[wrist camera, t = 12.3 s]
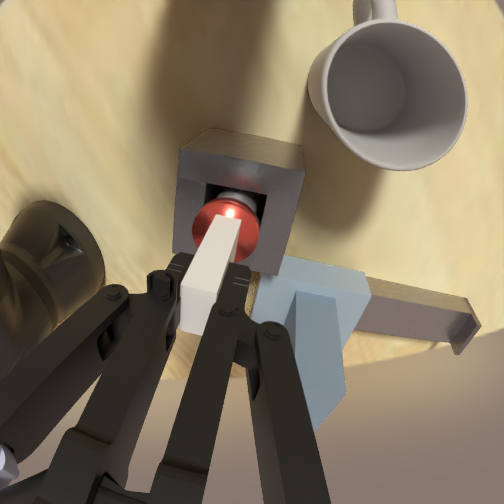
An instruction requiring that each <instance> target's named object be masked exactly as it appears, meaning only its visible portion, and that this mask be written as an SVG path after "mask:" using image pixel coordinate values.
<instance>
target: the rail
mask: <svg viewBox="0 0 504 504" xmlns="http://www.w3.org/2000/svg"><path fill="white" fill-rule="evenodd" d="M260 276H261V273H259V277H258V282H257V286H256V290H255V295H254V300H255V296H256V292H257V288H258V284H259V280H260ZM365 277H366V276H365ZM366 280H367V282H368V285H369V288H370V292H371V295H372V296H371V298H370V300H369V302H368V304H367V306H366V308H365V310H364V312H363V313H362V315H361V317H360V319H359V321H358V323H357V325H356V326H355V328H354V330H360V331H367V332H373V333H380V334H386V335H393V336H400V337H408V338H415V339H423V340H431V341H439V342H448V343H450V344H451V346H452V349H453V351H454V354H455V355H459V354H460V353H461V352H462V351H463V349H464V348H465V347H466V346H467V345H468V343H469V342H470V341H471V339H472V338H473V337H474V335H475V334H476V333H477V331H478V330H479V329H480V327H481V324H480V322H479V320H478V318H477V316H476V314H475V312H474V311H473V309H472V307H471V305H470V303H469V302H468V300H467V298H463V297H458V296H453V295H449V294H444V293H440V292H435V291H430V290H426V289H421V288H417V287H412V286H407V285H403V284H398V283H394V282H389V281H384V280H380V279H375V278H370V277H366ZM254 300H253V304H254ZM252 308H253V306H252Z"/></svg>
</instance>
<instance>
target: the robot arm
mask: <svg viewBox="0 0 504 504" xmlns="http://www.w3.org/2000/svg"><path fill="white" fill-rule="evenodd" d="M241 221H242V220H241V219H236V218H232V217H227V216H222V215H217V214H216V216H215V217H214V219H213V221H212V223H211V225H210V227H209V229H208V231H207V233H206V235H205V237H204V239H203V241H202V243H201V245H200V246H199V248H198V250H197V252H196V254H195V255H193V254H189V253H184V252H180V253H178V254H176V255H175V256H174V257H173V258H172V260H171V262H170V264H169V265H168V267H167V269H166V270H156V271H153V272H151V273H149V274H148V275H147V293H143V294H129V292H128V290H127V289H126V288H125V287H124V286H122V285H119V284H111V285H107V286H105V287H104V288H102V289H101V290H100V288H101V286H102V284H103V280H104V264H103V259H102V256H101V253H100V250H99V248H98V246H97V243H96V242H95V240H94V238H93V236H92V235H91V233H90V232H89V230H88V229H87V228H86V226H85V225H84V224H83V223H82V222H81V221H80V219H79V218H78V217H76V216H75V215H74V214H73V213H72V212H71V211H69V210H68V209H66V208H65V207H63V206H61V205H59V204H57V203H54V202H50V201H37V202H34V203H32V204H31V205H29V206H28V207H26V208H25V209H24V210H22V211H21V212H20V213H19V214H18V215H17V216H16V217H15V219H14V221H13V223H12V225H11V227H10V228H9V230H8V231H7V233H6V234H5V236H4V237H3V239H2V241H1V242H0V504H202V499H203V494H204V490H205V486H206V481H207V477H208V472H209V467H210V463H211V457H212V453H213V449H214V444H215V440H216V435H217V431H218V426H219V422H220V417H221V413H222V408H223V404H224V399H225V394H226V390H227V385H228V381H229V376H230V372H231V367H232V362H235V363H237V364H239V365H241V366H242V367H244V368H246V377H247V385H248V393H249V400H250V408H251V416H252V423H253V431H254V438H255V445H256V452H257V459H258V466H259V473H260V480H261V487H262V493H263V500H264V504H331V501H330V497H329V493H328V488H327V485H326V480H325V476H324V472H323V467H322V463H321V459H320V456H319V451H318V447H317V443H316V439H315V435H314V431H313V427H312V422H311V418H310V414H309V410H308V406H307V402H306V398H305V395H304V391H303V387H302V383H301V379H300V375H299V371H298V367H297V363H296V359H295V355H294V351H293V348H292V344H291V340H290V336H289V333H288V331H287V329H286V328H285V327H284V326H283V325H282V324H280V323H278V322H274V321H265V322H263V323H261V324H259V323H257V322H255V321H253V320H252V319H250V318H249V317H248V316H247V314H246V313H245V310H244V308H245V302H246V297H247V292H248V287H249V283H250V278H251V271H250V268H249V266H245V265H241V264H236V263H234V259H235V254H236V248H237V243H238V237H239V232H240V227H241ZM99 290H100V291H99ZM98 291H99V292H98ZM77 309H78V310H77ZM75 310H77V311H75ZM74 311H75V312H74ZM73 312H74V313H73ZM71 313H73V314H72V315H71V316H70V317H69V318H67V319H66V320H65V321H64V322H63V323H62V324H61V325H60V326H58V327H57V328H56V329H55V330H54V331H53V329H54V328H55V327H56V325H57V324H58V323H59V322H60V321H61V320H63V319H64V318H66V317H67V316H69V315H70V314H71ZM178 325H179V330H181V331H185V332H189V333H193V334H197V335H201V336H202V338H201V341H200V344H199V347H198V350H197V353H196V356H195V359H194V362H193V365H192V368H191V371H190V374H189V378H188V381H187V384H186V387H185V390H184V393H183V396H182V399H181V403H180V406H179V409H178V412H177V415H176V419H175V422H174V425H173V428H172V431H171V435H170V438H169V441H168V445H167V448H166V451H165V454H164V457H163V459H162V461H161V462H160V463H159V466H158V468H157V471H156V474H155V477H154V480H153V484H152V487H151V490H150V493H142V492H132V491H127V490H125V489H124V488H125V485H126V482H127V478H128V467H129V463H130V460H131V457H132V454H133V451H134V448H135V445H136V443H137V440H138V437H139V434H140V432H141V429H142V426H143V423H144V420H145V418H146V415H147V412H148V410H149V407H150V404H151V401H152V399H153V396H154V393H155V390H156V388H157V385H158V383H159V380H160V378H161V375H162V372H163V370H164V367H165V365H166V362H167V359H168V357H169V354H170V352H171V349H172V347H173V344H174V342H175V339H176V329H177V327H178ZM52 331H53V332H52ZM51 332H52V333H51ZM102 372H103V373H102ZM101 373H102V375H101ZM100 375H101V377H100V379H99V381H98V383H97V384H96V386H95V388H94V391H93V393H92V394H91V396H90V398H89V400H88V403H87V405H86V407H85V409H84V411H83V413H82V415H81V417H80V419H79V421H78V423H77V425H76V426H75V427H73V428H69V429H68V430H67V431H66V432H65V434H64V435H63V437H62V439H61V441H60V444H59V446H58V448H57V450H56V453H55V455H54V457H53V459H52V462H51V464H50V466H49V469H46V470H44V471H42V472H40V473H38V474H36V475H33V476H31V477H29V478H27V479H24V480H22V481H20V482H18V483H15V484H13V485H11V486H8V485H9V483H10V482H11V481H12V480H13V479H17V478H18V476H19V470H18V467H17V464H18V463H20V462H22V461H23V460H24V459H26V458H27V457H28V456H29V455H31V454H32V453H33V452H34V450H35V449H36V448H37V447H38V446H39V445H40V444H41V443H42V441H43V440H44V439H45V438H46V437H47V436H48V434H49V433H50V432H51V431H52V429H53V428H54V427H55V426H56V425H57V424H58V423H59V421H60V420H61V419H62V418H63V417H64V416H65V414H66V413H67V412H68V411H69V410H70V409H71V407H72V406H73V405H74V404H75V403H76V402H77V401H78V399H79V398H80V397H81V396H82V395H83V394H84V393H85V392H86V390H87V389H88V388H89V387H90V386H91V385H92V384H93V382H94V381H95V380H96V379H97V378H98V377H99V376H100Z"/></svg>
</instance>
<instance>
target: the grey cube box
mask: <svg viewBox="0 0 504 504" xmlns="http://www.w3.org/2000/svg"><path fill="white" fill-rule="evenodd" d="M305 175H306V170H305V164H304V157H303V151H302V146H301V145H296V144H292V143H288V142H283V141H279V140H274V139H269V138H264V137H259V136H254V135H249V134H244V133H238V132H233V131H227V130H221V129H215V128H209V129H208V130H206V131H205V132H203V133H202V134H200V135H199V136H197V137H196V138H194V139H193V140H191V141H190V142H188V143H187V144H185V145H184V146H183V147H181V148H180V153H179V163H178V173H177V185H176V197H175V211H174V228H173V247H172V253H174V254H178V253H180V252H184V253H189V254H193V255H195V254H196V252H197V250H198V247H197V246H196V244H195V242H194V240H193V236H192V225H193V222H194V219H195V217H196V216H197V214H198V213H199V211H200V210H201V208H202V207H203V206H204V205H205V204H206V203H208V202H209V201H211V200H213V199H216V198H217V196H218V194H219V193H220V191H221V189H222V188H223V186H226V187H231V188H236V189H241V190H246V191H251V192H256V193H260V194H265V195H267V197H266V201H265V203H263V202H259V204H258V207H257V211H256V216H257V218H258V221H259V226H260V232H259V237H258V242H257V245H256V248H255V250H254V251H253V253H252V254H251V255H250V256H248V257H247V258H246V259H244V260H242V261H239V262H235V263H236V264H241V265H245V266H249V268H250V270H251V271H255V272H260V273H265V274H269V275H274V276H278V273H279V270H280V266H281V263H282V259H283V256H284V252H285V249H286V245H287V242H288V238H289V234H290V231H291V227H292V223H293V220H294V216H295V212H296V209H297V205H298V201H299V197H300V194H301V190H302V186H303V182H304V178H305Z"/></svg>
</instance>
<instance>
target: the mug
mask: <svg viewBox="0 0 504 504" xmlns="http://www.w3.org/2000/svg"><path fill="white" fill-rule="evenodd" d="M353 20H354V27H352V28H351V29H349V30H347V31H346V32H345V33H343V34H342V35H341V36H340V37H338V38H337V39H336V40H335V41H334V42H333V43H331V44H330V45H329V46H327V47H326V48H325V49H324V50H322V51H321V52H320V53H319V54H318V56H317V57H316V58H315V60H314V61H313V64H312V66H311V68H310V71H309V76H308V91H309V96H310V100H311V102H312V105H313V107H314V108H315V110H316V112H317V113H318V115H319V116H320V117H321V118H322V119H323V121H324V122H325V123H326V124H327V125H328V126H329V127H330V129H331V130H332V131H333V133H334V134H335V135H336V136H337V138H338V139H339V140H340V141H341V142H342V143H343V144H344V146H345V147H347V148H348V149H349V150H350V151H351V152H352V153H353V154H355V155H356V156H358V157H359V158H360V159H362V160H364V161H366V162H368V163H369V164H372V165H374V166H377V167H379V168H383V169H387V170H393V171H411V170H417V169H420V168H424V167H427V166H429V165H431V164H433V163H435V162H436V161H438V160H440V159H441V158H442V157H443V156H445V155H446V154H447V153H448V152H449V151H450V150H451V149H452V148H453V146H454V145H455V143H456V142H457V140H458V139H459V137H460V135H461V133H462V130H463V128H464V125H465V121H466V117H467V109H468V96H467V89H466V84H465V80H464V77H463V74H462V72H461V69H460V67H459V65H458V63H457V62H456V60H455V58H454V57H453V55H452V54H451V52H450V51H449V50H448V49H447V48H446V46H445V45H444V44H443V43H442V42H441V41H440V40H439V39H437V38H436V37H435V36H434V35H432V34H431V33H429V32H428V31H427V30H425V29H423V28H421V27H419V26H417V25H414V24H412V23H409V22H406V21H401V20H399V19H398V14H397V7H396V2H395V0H353Z"/></svg>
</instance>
